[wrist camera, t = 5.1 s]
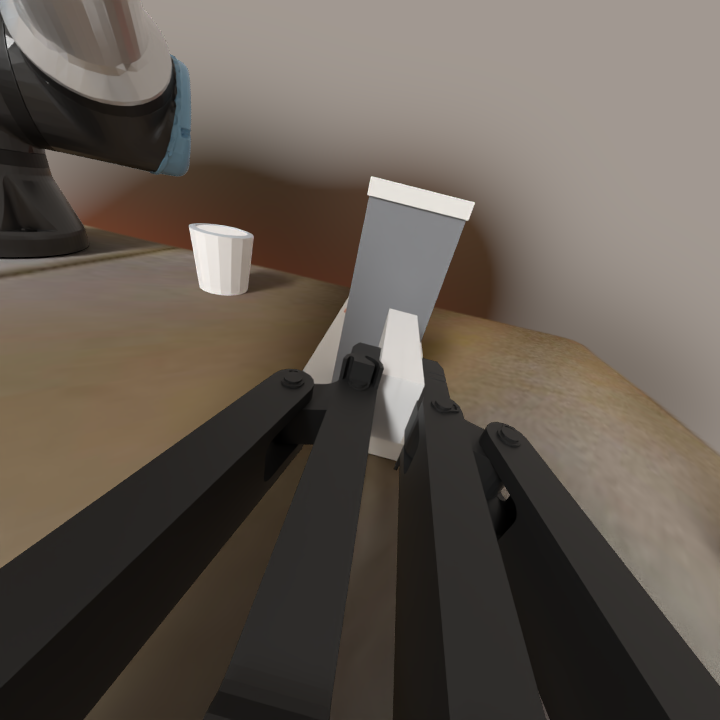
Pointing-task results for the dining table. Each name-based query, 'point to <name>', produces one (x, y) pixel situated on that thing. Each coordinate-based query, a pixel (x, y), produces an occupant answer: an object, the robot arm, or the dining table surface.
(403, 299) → the fader tab
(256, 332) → the dining table surface
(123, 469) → the dining table surface
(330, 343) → the fader base
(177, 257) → the dining table surface
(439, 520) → the robot arm
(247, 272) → the white cup
